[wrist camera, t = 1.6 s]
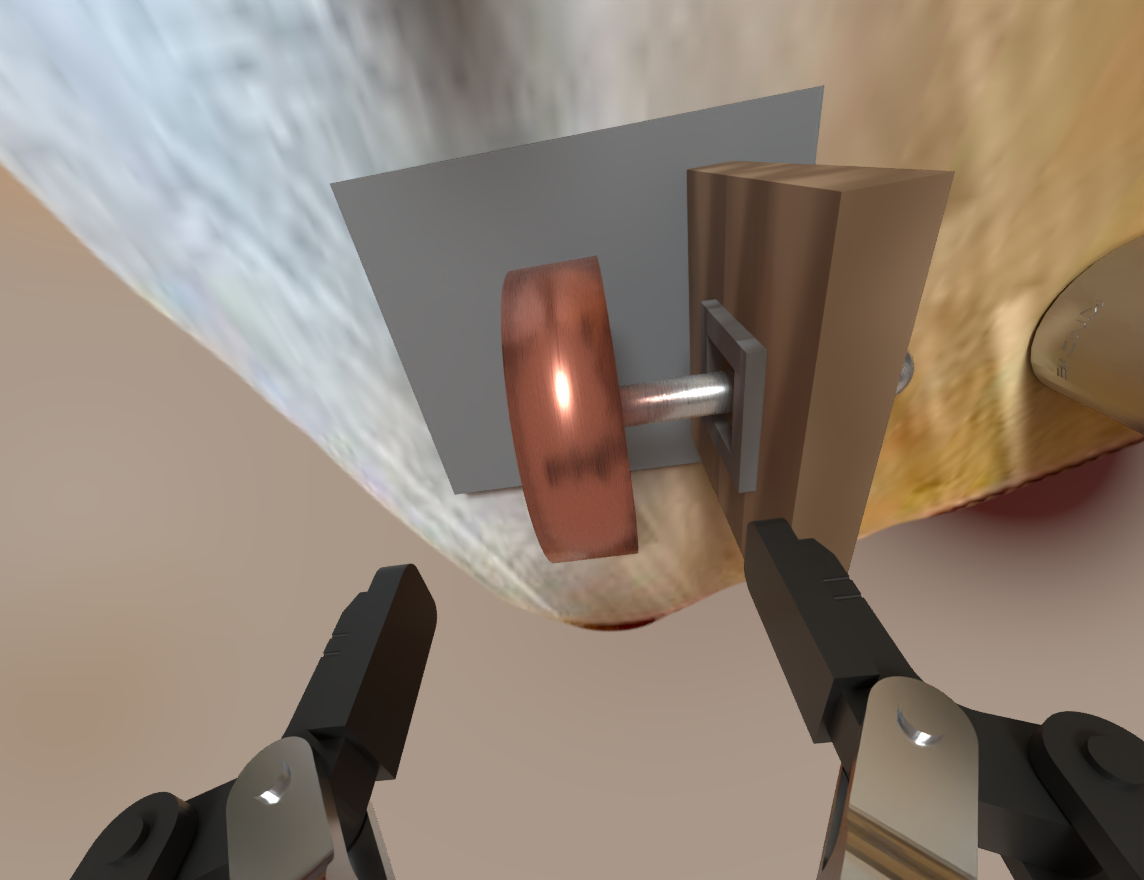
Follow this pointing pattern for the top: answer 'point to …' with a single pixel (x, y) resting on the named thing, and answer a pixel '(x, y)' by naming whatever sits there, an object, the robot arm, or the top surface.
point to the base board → (551, 261)
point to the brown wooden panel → (804, 330)
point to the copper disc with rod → (585, 408)
